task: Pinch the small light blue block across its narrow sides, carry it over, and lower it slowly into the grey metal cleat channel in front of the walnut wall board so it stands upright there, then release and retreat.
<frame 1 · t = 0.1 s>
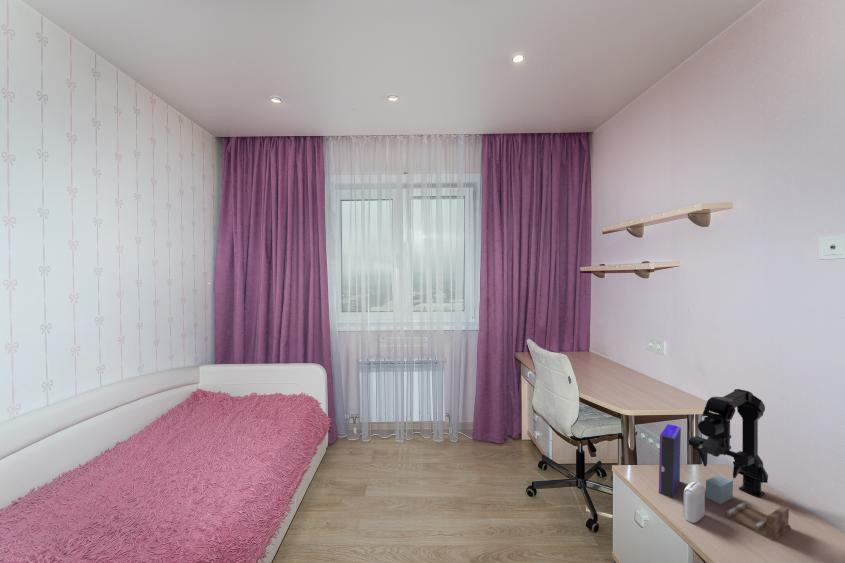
hand: (719, 472, 134), 14 cm above the cabinet, fingers open, 9 cm apart
cleat stand: (750, 519, 128), on the cabinet
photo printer: (693, 517, 129), on the cabinet
light blue block: (719, 497, 142), on the cabinet
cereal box: (669, 487, 148), on the cabinet
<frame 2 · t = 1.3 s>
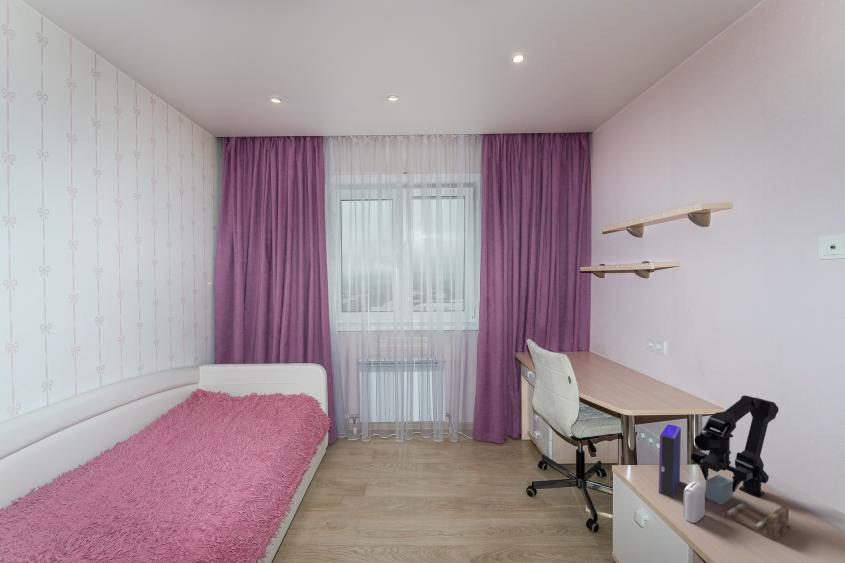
hand: (719, 485, 142), 5 cm above the cabinet, fingers open, 9 cm apart
nothing on the cabinet moved.
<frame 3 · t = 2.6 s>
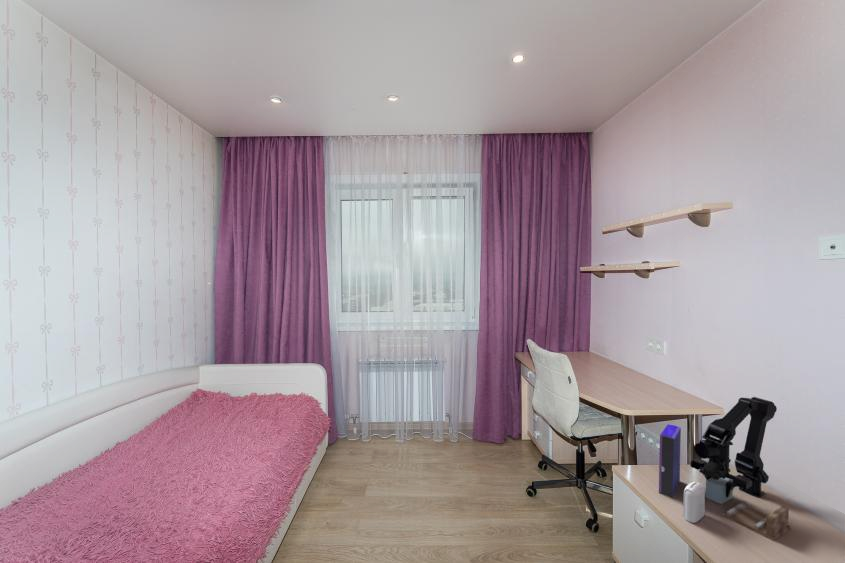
hand: (719, 493, 142), 2 cm above the cabinet, fingers closed on light blue block, 5 cm apart
light blue block: (719, 497, 142), on the cabinet, touching gripper
everything else where it was.
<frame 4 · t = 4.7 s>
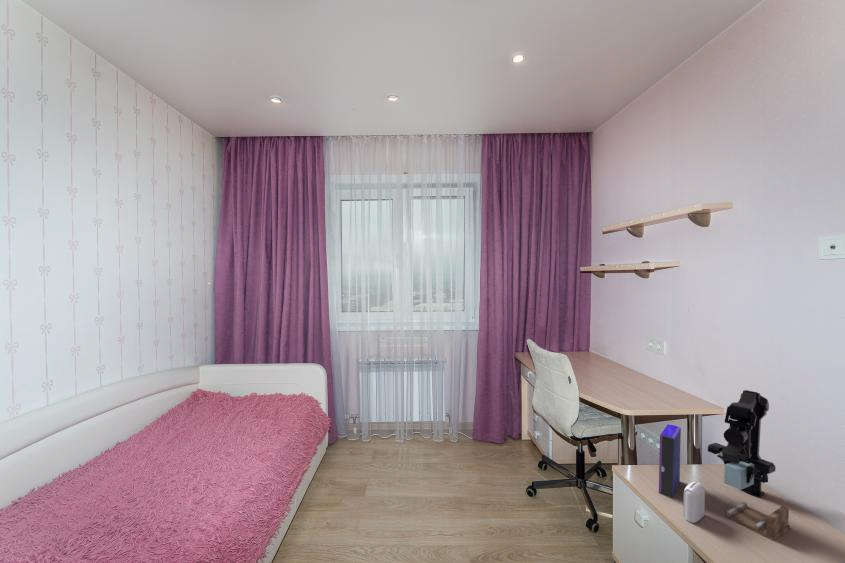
hand: (739, 479, 133), 12 cm above the cabinet, fingers closed on light blue block, 5 cm apart
light blue block: (738, 483, 133), point 11 cm above the cabinet, touching gripper
everything else where it was.
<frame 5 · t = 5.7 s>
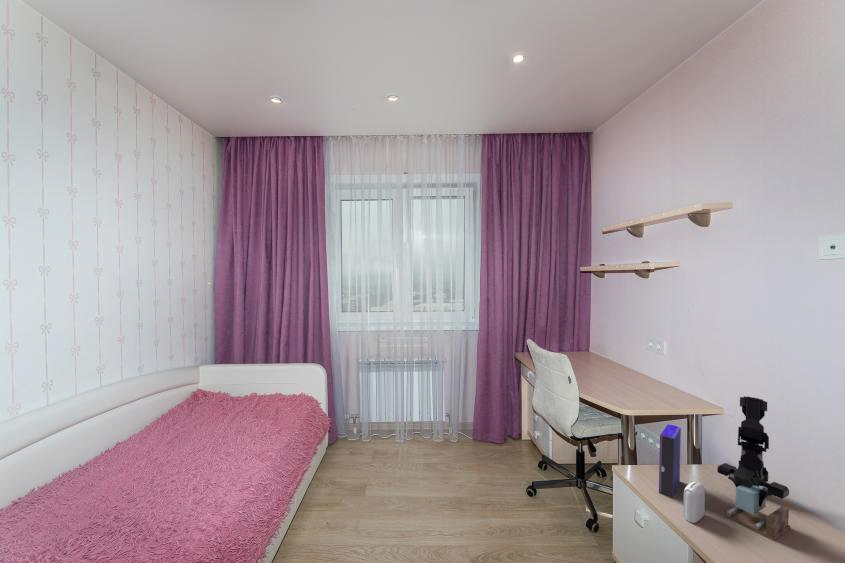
hand: (750, 502, 129), 6 cm above the cabinet, fingers closed on light blue block, 5 cm apart
light blue block: (750, 506, 128), point 5 cm above the cabinet, touching gripper
everything else where it was.
when the fingers open (4 cm above the cabinet, at t = 6.6 s): light blue block drops 1 cm, resting on cleat stand.
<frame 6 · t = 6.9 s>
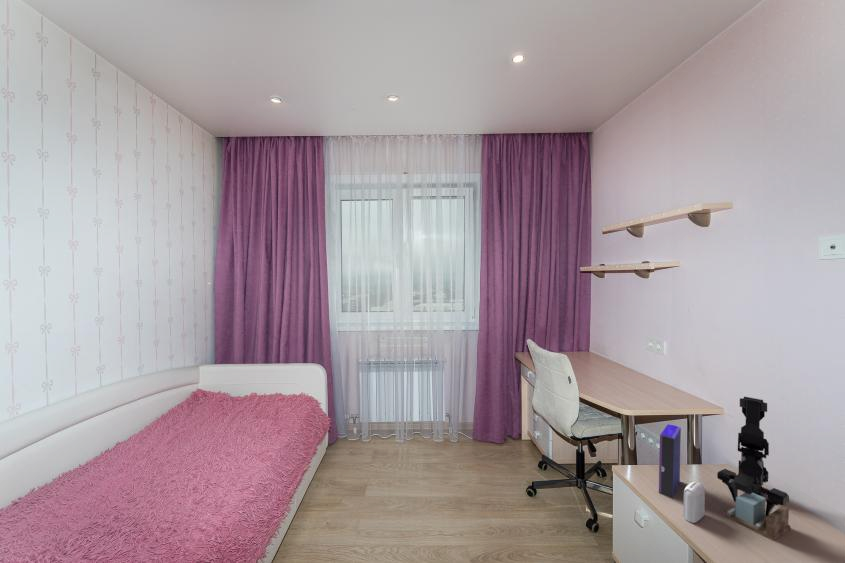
hand: (750, 508, 128), 4 cm above the cabinet, fingers open, 9 cm apart
light blue block: (750, 516, 128), point 1 cm above the cabinet, touching cleat stand
everything else where it was.
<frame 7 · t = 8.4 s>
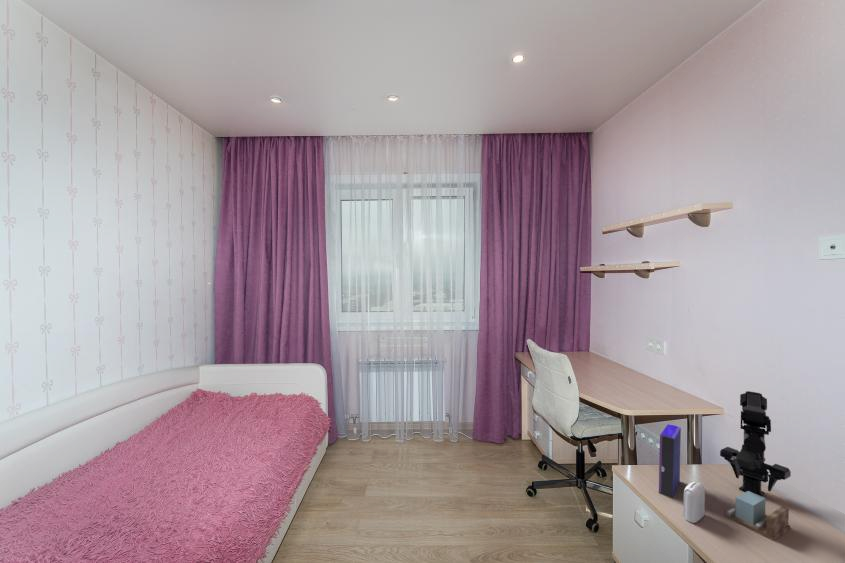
hand: (753, 484, 131), 12 cm above the cabinet, fingers open, 9 cm apart
nothing on the cabinet moved.
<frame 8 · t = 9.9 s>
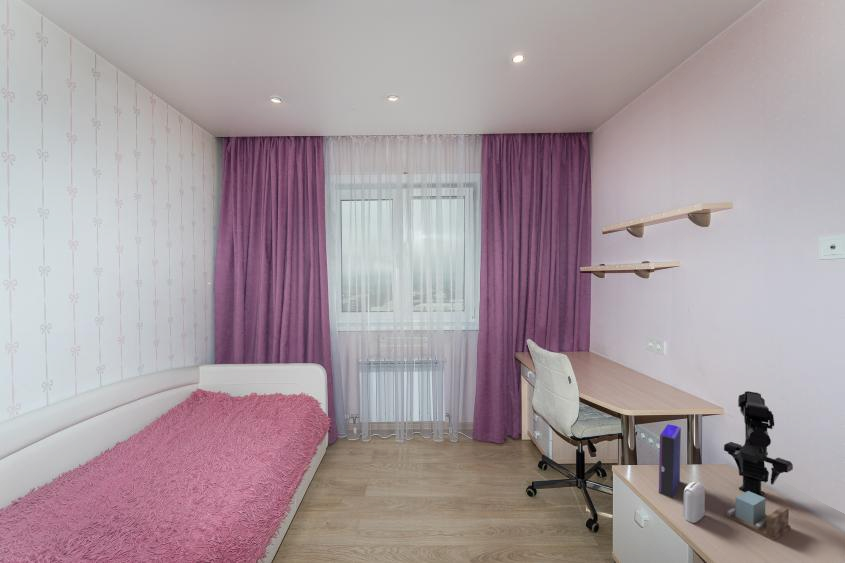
hand: (756, 478, 135), 12 cm above the cabinet, fingers open, 9 cm apart
nothing on the cabinet moved.
at the end: light blue block 0.0 cm off-centre on the cleat stand, point 1.0 cm above the cleat stand's base; light blue block tilted 0°; the gripper is holding nothing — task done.
